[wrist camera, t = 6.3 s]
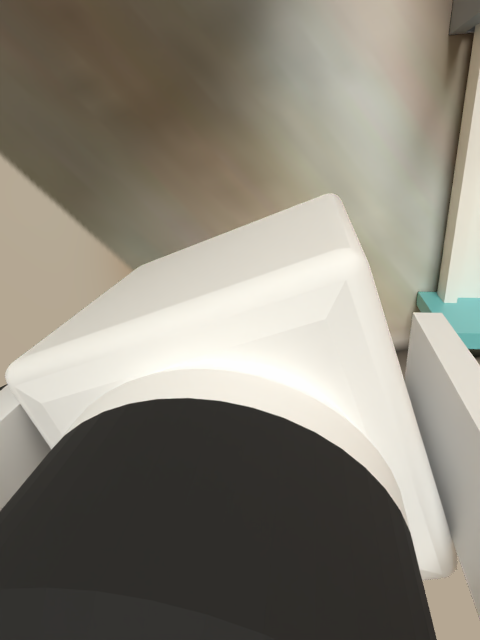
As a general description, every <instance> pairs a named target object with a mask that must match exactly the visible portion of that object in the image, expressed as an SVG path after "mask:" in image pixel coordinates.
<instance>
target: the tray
mask: <svg viewBox="0 0 480 640" xmlns="http://www.w3.org/2000/svg"><path fill="white" fill-rule="evenodd" d="M416 305H417V306H418V308H419V310H420V311H421V313H442V314H443V315H444V316H445V318H446V319H447V321H448V322H449V323H450V325H451V326H452V327H453V329H454V330H455V332H456V333H457V334H458V336H459V337H460V339H461V340H462V341H463V343H464V344H465V345H466V347H467V348H468V349H480V23H479V24H477V25H476V26H475V31H474V38H473V45H472V52H471V59H470V66H469V73H468V80H467V87H466V94H465V101H464V108H463V115H462V122H461V129H460V136H459V143H458V150H457V157H456V164H455V171H454V178H453V185H452V192H451V199H450V206H449V213H448V220H447V227H446V234H445V241H444V248H443V255H442V262H441V269H440V276H439V283H438V290H437V292H418V296H417V304H416Z"/></svg>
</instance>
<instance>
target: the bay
mask: <svg viewBox="0 0 480 640" xmlns="http://www.w3.org/2000/svg"><path fill="white" fill-rule="evenodd" d="M479 23H480V0H453V5H452V13H451V21H450V29H449V35H457V34H467V33H474V31H475V26H476V25H477V24H479Z"/></svg>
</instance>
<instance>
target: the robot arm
mask: <svg viewBox="0 0 480 640" xmlns="http://www.w3.org/2000/svg"><path fill="white" fill-rule="evenodd" d="M404 381H405V384H406V388H407V391H408V394H409V398H410V401H411V404H412V407H413V411H414V414H415V417H416V421H417V424H418V427H419V431H420V434H421V437H422V440H423V444H424V447H425V450H426V454H427V457H428V460H429V464H430V467H431V470H432V473H433V477H434V480H435V483H436V487H437V490H438V493H439V497H440V500H441V503H442V506H443V510H444V513H445V516H446V520H447V523H448V526H449V530H450V533H451V538H452V541H453V543H454V546H455V549H456V552H457V555H458V558H459V561H460V564H461V567H462V570H463V573H464V576H465V578H466V581H467V584H468V587H469V590H470V593H471V596H472V599H473V602H474V605H475V608H476V610H477V613H478V616H479V619H480V365H479V363H478V362H477V361H476V359H475V358H474V357H473V355H472V354H471V352H470V351H469V350H468V348H467V347H466V345H465V344H464V343H463V341H462V340H461V339H460V337H459V336H458V334H457V333H456V332H455V330H454V329H453V327H452V326H451V325H450V323H449V322H448V321H447V319H446V318H445V316H444V315H443V314H442V313H416V312H413V316H412V324H411V332H410V340H409V348H408V356H407V364H406V371H405V379H404ZM50 451H51V448H50V447H49V445H48V444H47V442H46V441H45V439H44V438H43V436H42V435H41V434H40V432H39V431H38V429H37V428H36V426H35V425H34V423H33V422H32V420H31V419H30V417H29V416H28V415H27V413H26V412H25V410H24V409H23V407H22V406H21V404H20V403H19V401H18V400H17V398H16V397H15V396H14V394H13V393H12V391H11V390H10V388H9V387H8V384H7V385H4V386H2V387H0V511H1V510H2V508H3V507H4V506H5V505H6V504H7V502H8V501H9V500H10V499H11V497H12V496H13V495H14V494H15V493H16V491H17V490H18V489H19V488H20V487H21V485H22V484H23V483H24V482H25V481H26V479H27V478H28V477H29V476H30V475H31V473H32V472H33V471H34V470H35V469H36V467H37V466H38V465H39V464H40V463H41V461H42V460H43V459H44V458H45V457H46V455H47V454H48V453H49V452H50Z"/></svg>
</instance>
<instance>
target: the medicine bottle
mask: <svg viewBox="0 0 480 640" xmlns="http://www.w3.org/2000/svg"><path fill="white" fill-rule="evenodd" d="M5 379H6V382H7V384H8V387H9V388H10V390H11V391H12V393H13V394H14V396H15V397H16V398H17V400H18V401H19V403H20V404H21V406H22V407H23V409H24V410H25V412H26V413H27V415H28V416H29V417H30V419H31V420H32V422H33V423H34V425H35V426H36V428H37V429H38V431H39V432H40V434H41V435H42V436H43V438H44V439H45V441H46V442H47V444H48V445H49V447H50V448H51V451H50V452H49V453H48V454H47V455H46V457H45V458H44V459H43V460H42V461H41V463H40V464H39V465H38V466H37V467H36V469H35V470H34V471H33V472H32V473H31V475H30V476H29V477H28V478H27V479H26V481H25V482H24V483H23V484H22V485H21V487H20V488H19V489H18V490H17V491H16V493H15V494H14V495H13V496H12V497H11V499H10V500H9V501H8V502H7V504H6V505H5V506H4V507H3V508H2V510H1V511H0V640H437V639H436V635H435V631H434V627H433V623H432V619H431V615H430V611H429V607H428V602H427V598H426V594H425V590H424V586H423V582H422V580H431V579H441V578H446V577H449V576H450V575H451V574H452V573H453V572H454V571H455V570H456V569H457V553H456V549H455V546H454V543H453V541H452V538H451V533H450V530H449V526H448V523H447V520H446V516H445V513H444V510H443V506H442V503H441V500H440V497H439V493H438V490H437V487H436V483H435V480H434V477H433V473H432V470H431V467H430V464H429V460H428V457H427V454H426V450H425V447H424V444H423V440H422V437H421V434H420V431H419V427H418V424H417V421H416V417H415V414H414V411H413V407H412V404H411V401H410V398H409V394H408V391H407V388H406V384H405V381H404V378H403V374H402V371H401V368H400V365H399V361H398V358H397V355H396V351H395V348H394V345H393V341H392V338H391V335H390V332H389V328H388V325H387V322H386V318H385V315H384V312H383V308H382V305H381V302H380V299H379V295H378V292H377V289H376V285H375V282H374V279H373V275H372V272H371V269H370V266H369V263H368V260H367V258H366V256H365V253H364V251H363V249H362V246H361V244H360V242H359V239H358V237H357V235H356V233H355V230H354V228H353V226H352V223H351V221H350V219H349V216H348V214H347V212H346V209H345V207H344V205H343V202H342V201H341V199H340V198H339V196H338V195H335V194H333V193H329V194H324V195H321V196H319V197H316V198H314V199H311V200H309V201H306V202H303V203H301V204H298V205H296V206H293V207H290V208H288V209H285V210H283V211H280V212H278V213H275V214H272V215H270V216H267V217H265V218H262V219H260V220H257V221H254V222H252V223H249V224H247V225H244V226H241V227H239V228H236V229H234V230H231V231H229V232H226V233H223V234H221V235H218V236H216V237H213V238H210V239H208V240H205V241H203V242H200V243H198V244H195V245H192V246H190V247H187V248H185V249H182V250H180V251H177V252H174V253H172V254H169V255H167V256H164V257H161V258H159V259H156V260H154V261H151V262H149V263H146V264H143V265H141V266H139V267H138V268H136V269H135V270H134V271H132V272H131V273H130V274H128V275H127V276H126V277H125V278H123V279H122V280H120V281H119V282H118V283H117V284H115V285H114V286H113V287H111V288H110V289H109V290H107V291H106V292H105V293H103V294H102V295H101V296H99V297H98V298H97V299H95V300H94V301H93V302H91V303H90V304H89V305H87V306H86V307H85V308H83V309H82V310H81V311H80V312H78V313H77V314H76V315H74V316H73V317H72V318H70V319H69V320H68V321H66V322H65V323H64V324H62V325H61V326H60V327H58V328H57V329H56V330H55V331H53V332H52V333H50V334H49V335H48V336H47V337H45V338H44V339H43V340H41V341H40V342H39V343H38V344H36V345H35V346H33V347H32V348H31V349H29V350H28V351H27V352H25V353H24V354H23V355H21V356H20V357H19V358H18V359H16V360H15V361H14V362H12V363H11V364H10V365H9V367H8V368H7V370H6V374H5Z"/></svg>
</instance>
